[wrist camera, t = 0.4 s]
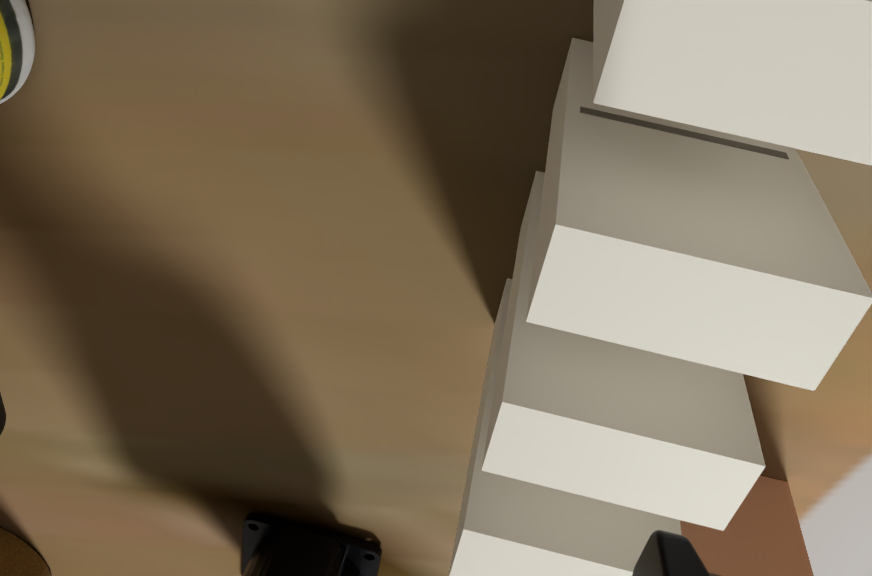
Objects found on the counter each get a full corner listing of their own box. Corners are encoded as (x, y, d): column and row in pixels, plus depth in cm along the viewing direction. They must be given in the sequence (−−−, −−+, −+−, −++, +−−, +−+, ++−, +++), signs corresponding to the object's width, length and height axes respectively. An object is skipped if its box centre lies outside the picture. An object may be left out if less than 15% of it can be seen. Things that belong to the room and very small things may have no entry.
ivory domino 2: (728, 148, 21) (813, 391, 12) (553, 108, 21) (526, 322, 13) (759, 77, 19) (875, 297, 11) (572, 36, 20) (556, 223, 12)
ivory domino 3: (677, 264, 23) (722, 531, 15) (520, 227, 23) (481, 471, 15) (702, 207, 22) (766, 465, 14) (536, 170, 22) (502, 401, 14)
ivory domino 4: (636, 358, 25) (656, 633, 17) (494, 324, 25) (448, 580, 17) (656, 312, 24) (687, 585, 16) (507, 277, 24) (463, 528, 16)
